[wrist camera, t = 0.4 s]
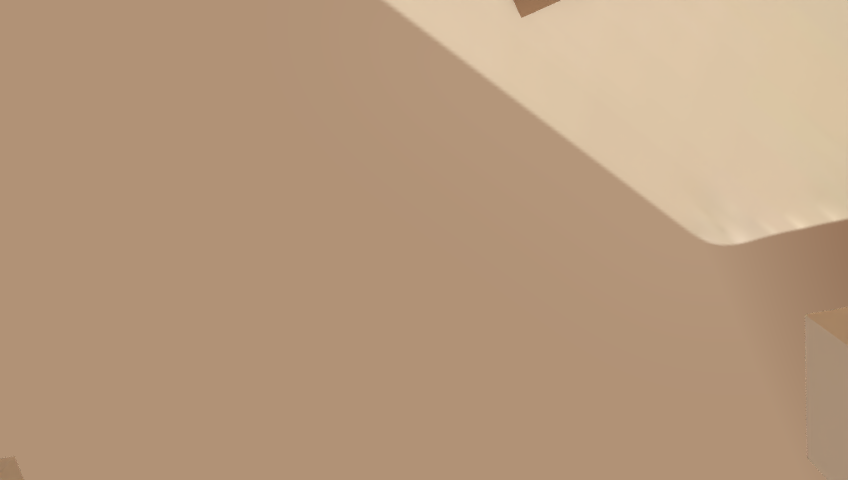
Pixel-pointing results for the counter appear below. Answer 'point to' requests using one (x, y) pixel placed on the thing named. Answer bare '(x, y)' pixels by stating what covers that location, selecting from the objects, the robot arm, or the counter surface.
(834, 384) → the robot arm
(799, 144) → the counter surface
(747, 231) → the counter surface
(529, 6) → the walnut holder
